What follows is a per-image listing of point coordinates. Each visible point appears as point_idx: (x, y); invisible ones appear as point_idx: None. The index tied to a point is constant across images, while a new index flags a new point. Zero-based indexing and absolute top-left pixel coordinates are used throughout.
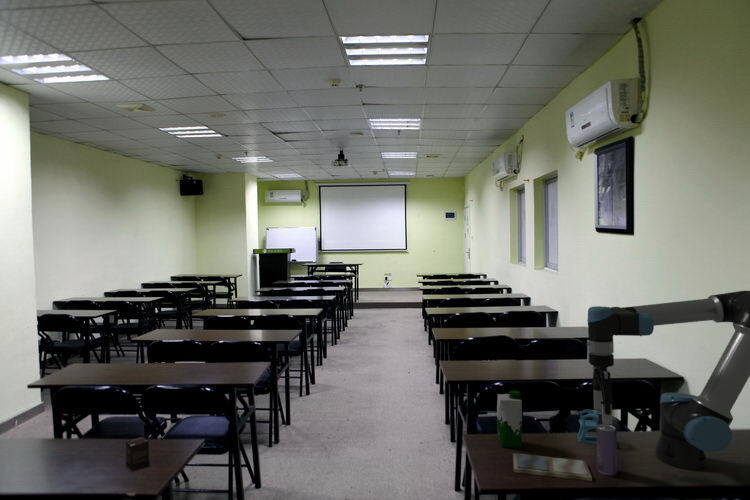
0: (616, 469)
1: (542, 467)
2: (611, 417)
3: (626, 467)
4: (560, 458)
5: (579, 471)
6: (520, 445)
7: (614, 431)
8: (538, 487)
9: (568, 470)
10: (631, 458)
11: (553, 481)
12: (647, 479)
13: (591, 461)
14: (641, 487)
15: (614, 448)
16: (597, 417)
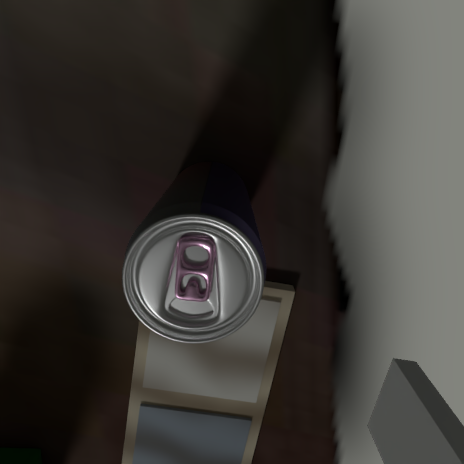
0: (233, 172)
1: (230, 433)
2: (452, 422)
3: (155, 89)
4: (137, 354)
5: (255, 324)
6: (35, 457)
7: (249, 237)
8: (335, 452)
9: (249, 359)
10: (44, 11)
11: (296, 404)
12: (269, 43)
13: (116, 226)
14: (340, 109)
15: (250, 209)
16: None
